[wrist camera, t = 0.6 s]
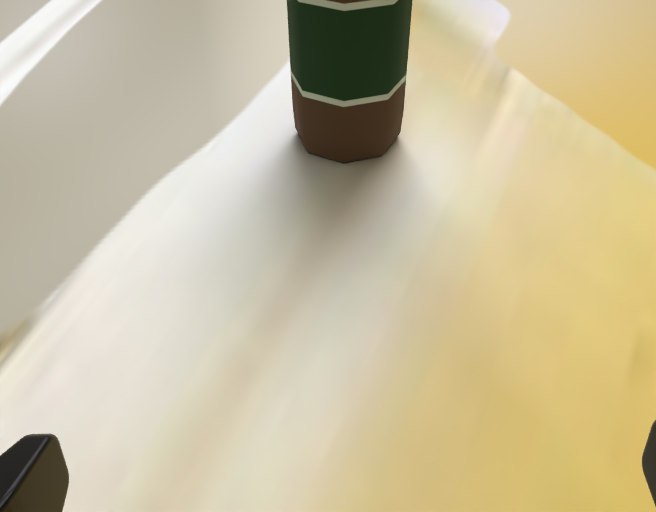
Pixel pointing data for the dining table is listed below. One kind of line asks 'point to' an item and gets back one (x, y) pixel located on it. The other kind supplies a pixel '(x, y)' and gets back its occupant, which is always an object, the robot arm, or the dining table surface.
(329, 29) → the beer bottle
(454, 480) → the dining table surface
